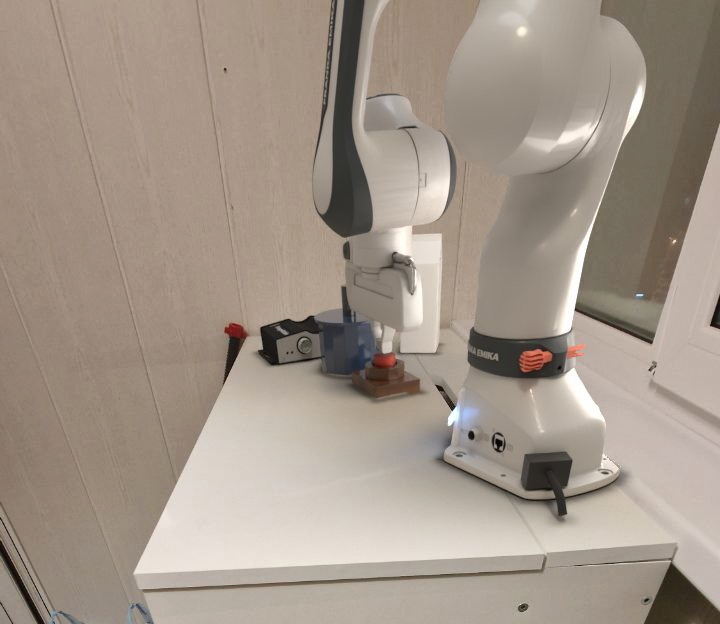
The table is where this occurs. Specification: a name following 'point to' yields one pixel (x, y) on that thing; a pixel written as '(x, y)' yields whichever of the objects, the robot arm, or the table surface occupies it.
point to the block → (386, 379)
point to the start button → (384, 359)
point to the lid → (341, 314)
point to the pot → (346, 348)
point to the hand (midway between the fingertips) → (383, 351)
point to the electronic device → (290, 341)
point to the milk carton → (426, 294)
